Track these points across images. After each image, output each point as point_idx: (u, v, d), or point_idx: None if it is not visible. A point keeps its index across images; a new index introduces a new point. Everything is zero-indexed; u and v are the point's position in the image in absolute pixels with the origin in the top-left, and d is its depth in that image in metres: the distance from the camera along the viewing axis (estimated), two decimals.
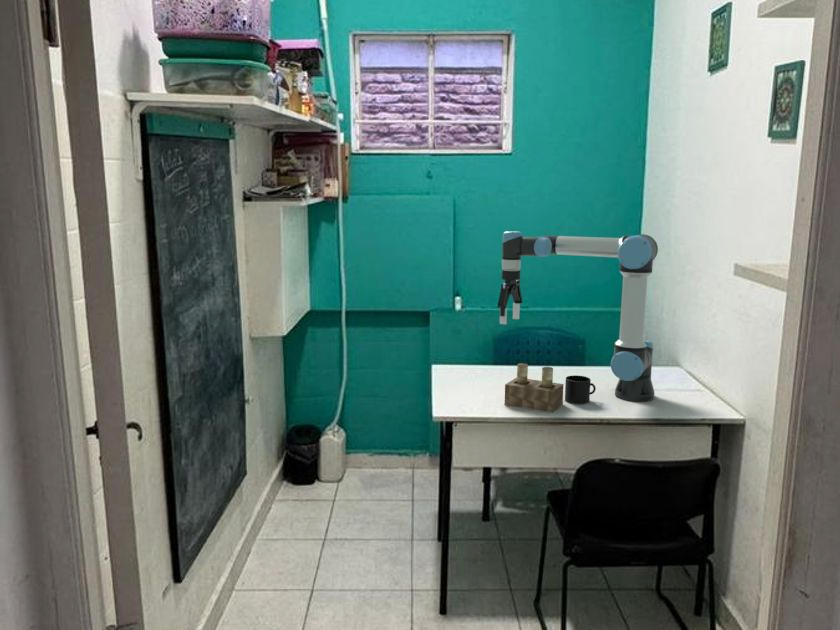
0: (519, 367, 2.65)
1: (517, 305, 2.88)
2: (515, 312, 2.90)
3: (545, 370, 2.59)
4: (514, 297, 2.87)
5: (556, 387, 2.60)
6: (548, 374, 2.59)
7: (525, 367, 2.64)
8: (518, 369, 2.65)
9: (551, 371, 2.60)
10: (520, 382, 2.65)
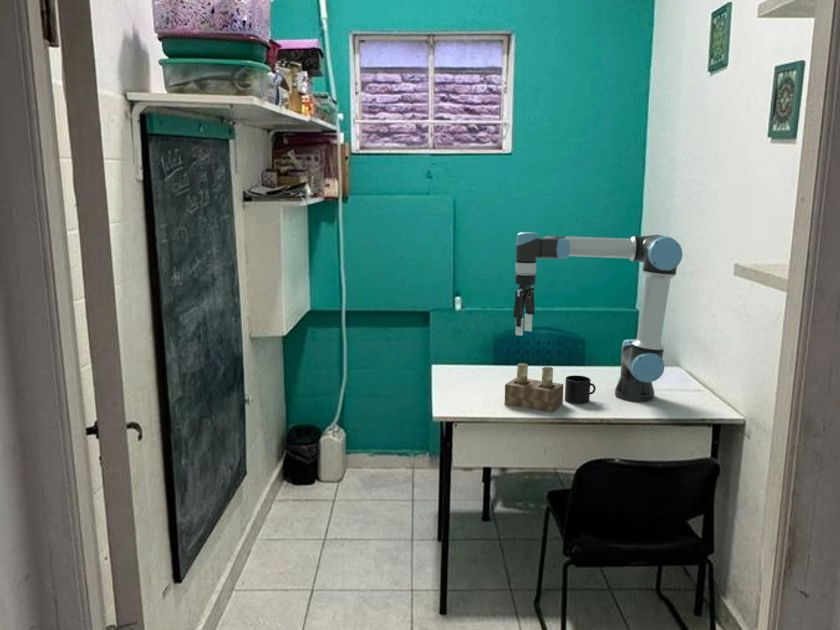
0: (519, 367, 2.65)
1: (529, 316, 2.66)
2: (527, 324, 2.67)
3: (545, 370, 2.59)
4: (527, 306, 2.65)
5: (556, 387, 2.60)
6: (548, 374, 2.59)
7: (525, 367, 2.64)
8: (518, 369, 2.65)
9: (551, 371, 2.60)
10: (520, 382, 2.65)
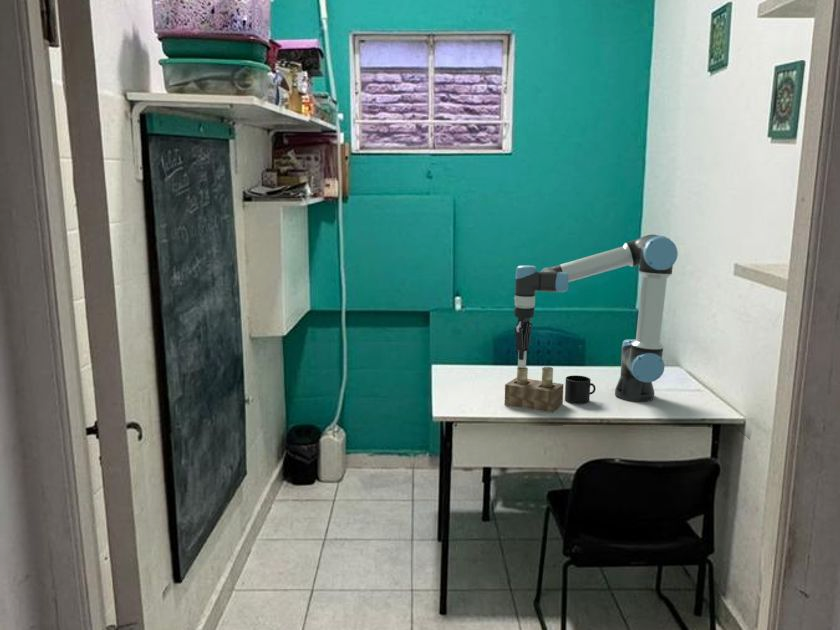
0: (519, 370, 2.65)
1: None
2: (521, 360, 2.66)
3: (545, 370, 2.59)
4: None
5: (556, 387, 2.60)
6: (548, 374, 2.59)
7: (525, 370, 2.64)
8: (518, 372, 2.65)
9: (551, 371, 2.60)
10: None
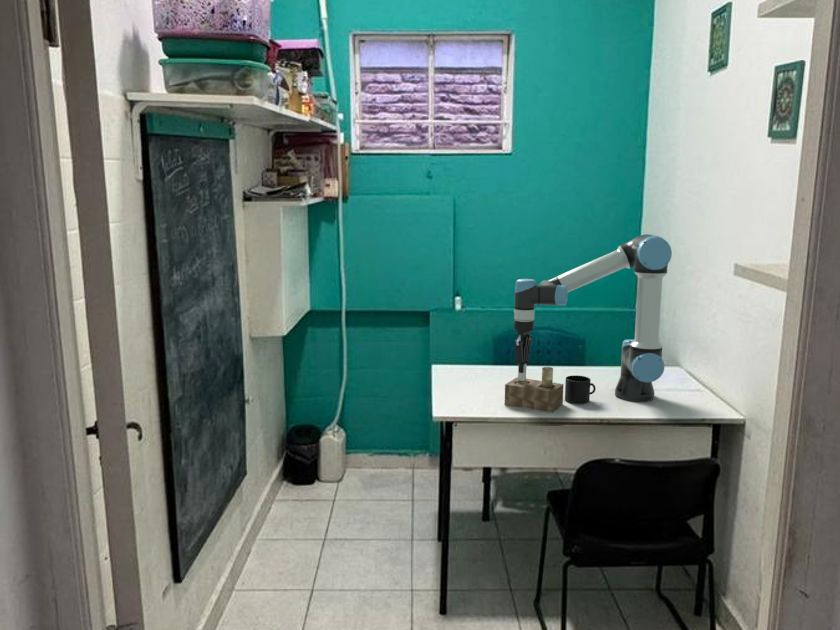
0: (518, 383, 2.66)
1: None
2: (521, 373, 2.67)
3: (545, 370, 2.59)
4: None
5: (556, 387, 2.60)
6: (548, 374, 2.59)
7: (524, 383, 2.65)
8: None
9: (551, 371, 2.60)
10: None
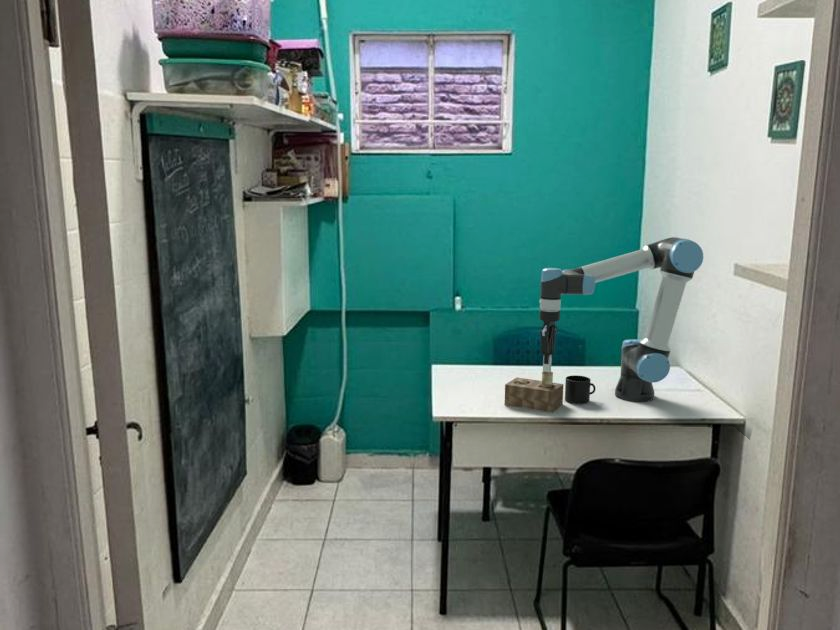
0: (518, 383, 2.66)
1: None
2: None
3: (545, 374, 2.60)
4: None
5: (556, 387, 2.60)
6: (548, 378, 2.60)
7: (524, 383, 2.65)
8: None
9: (551, 375, 2.60)
10: None
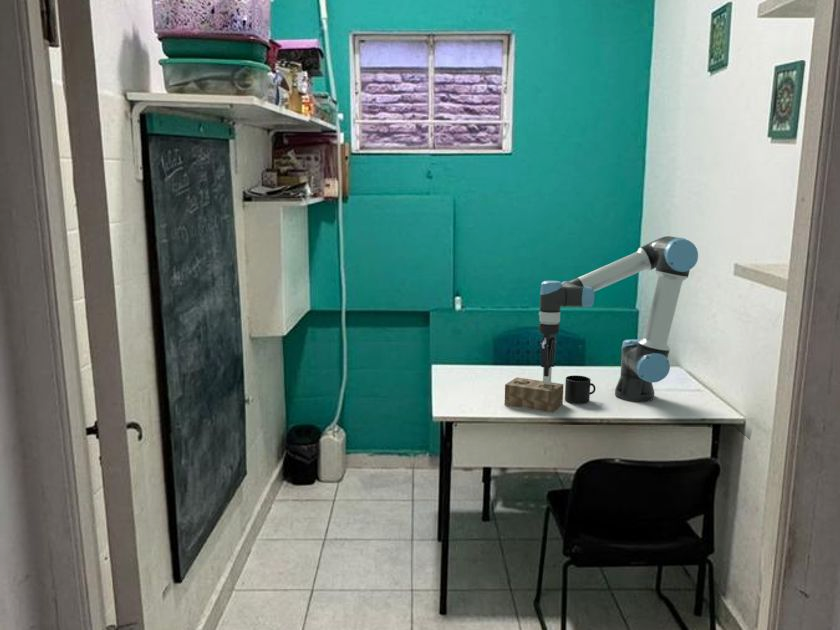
0: (518, 383, 2.66)
1: None
2: None
3: (544, 387, 2.61)
4: None
5: (556, 387, 2.60)
6: None
7: (524, 383, 2.65)
8: None
9: (550, 387, 2.61)
10: None
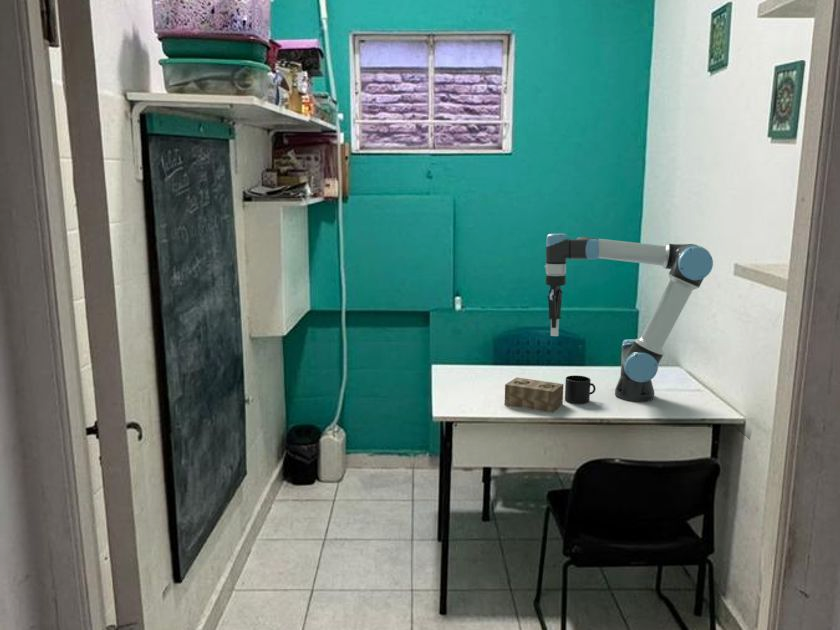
0: (518, 383, 2.66)
1: None
2: None
3: (544, 387, 2.61)
4: None
5: (556, 387, 2.60)
6: None
7: (524, 383, 2.65)
8: None
9: (550, 388, 2.61)
10: None
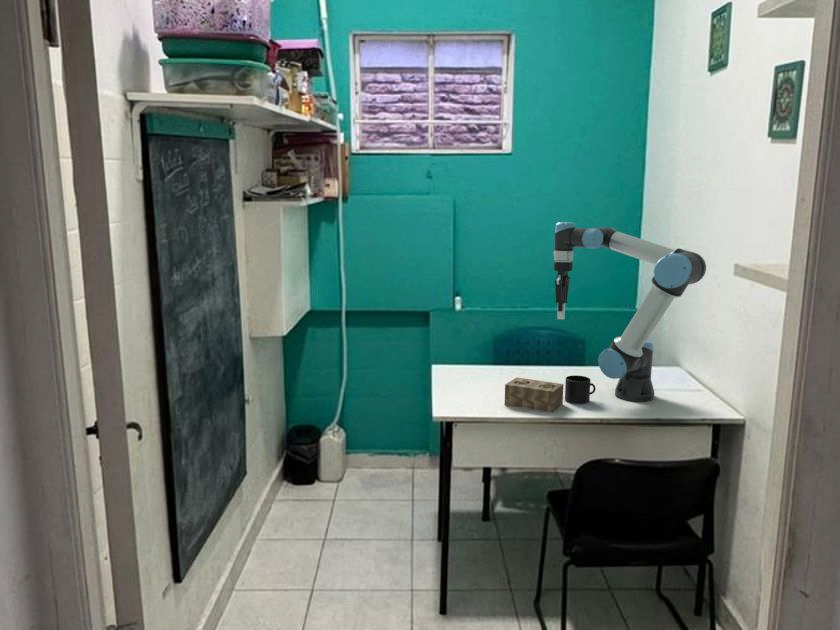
0: (518, 383, 2.66)
1: None
2: None
3: (544, 387, 2.61)
4: None
5: (556, 387, 2.60)
6: None
7: (524, 383, 2.65)
8: None
9: (550, 388, 2.61)
10: None
